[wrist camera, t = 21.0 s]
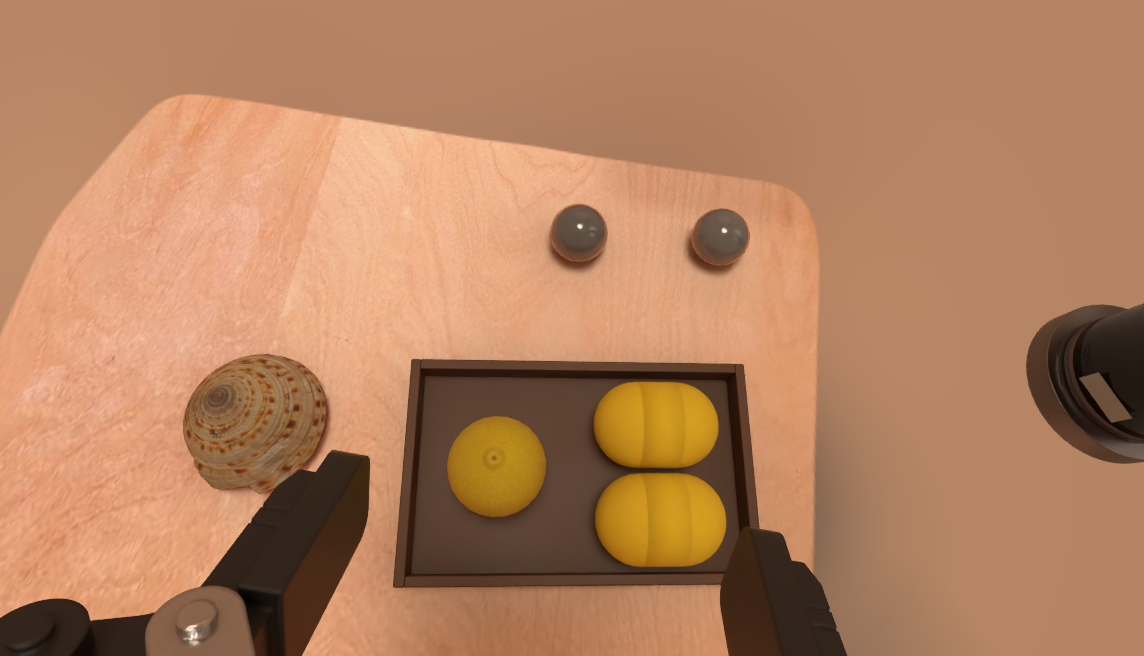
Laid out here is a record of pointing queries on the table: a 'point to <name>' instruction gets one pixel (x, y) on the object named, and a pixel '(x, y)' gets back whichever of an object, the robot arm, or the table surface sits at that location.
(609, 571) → the tray
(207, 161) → the table surface
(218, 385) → the seashell
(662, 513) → the yellow banded capsule
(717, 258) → the glossy gray ball
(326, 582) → the robot arm
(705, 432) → the yellow ribbed oblong body
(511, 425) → the lemon
